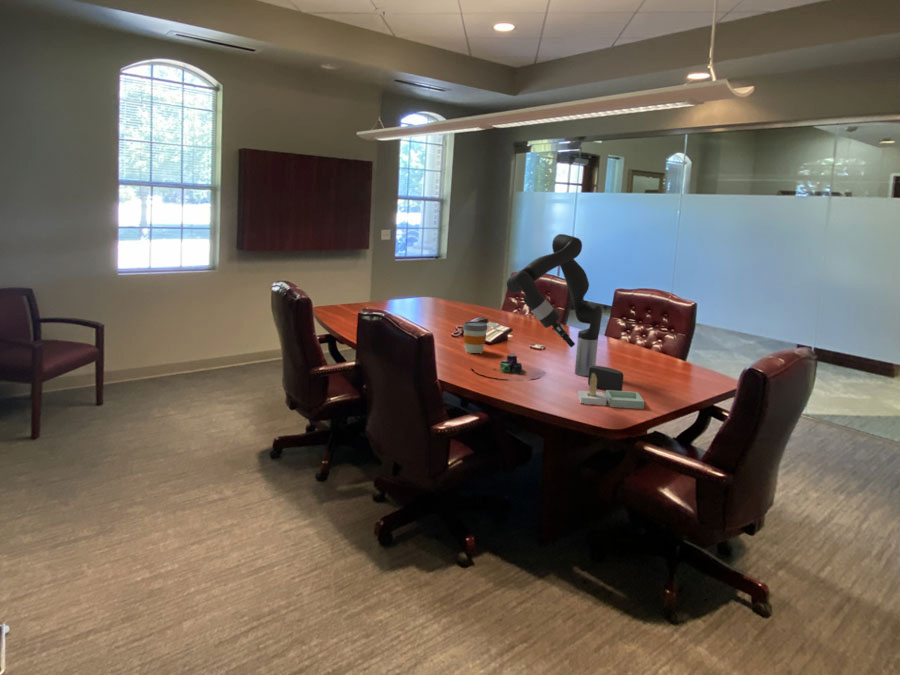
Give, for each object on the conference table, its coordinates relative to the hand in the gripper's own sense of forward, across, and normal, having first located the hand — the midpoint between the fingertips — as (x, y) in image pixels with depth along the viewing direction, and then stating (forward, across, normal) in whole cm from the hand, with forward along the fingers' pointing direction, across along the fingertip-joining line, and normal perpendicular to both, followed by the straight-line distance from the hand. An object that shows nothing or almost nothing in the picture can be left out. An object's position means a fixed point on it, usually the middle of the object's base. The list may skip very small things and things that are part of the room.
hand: (571, 343), depth 259 cm
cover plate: (+24, 0, +9) cm, 26 cm away
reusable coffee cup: (-9, +77, +41) cm, 88 cm away
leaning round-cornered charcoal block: (+30, +17, +2) cm, 35 cm away
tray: (+33, 0, -1) cm, 33 cm away
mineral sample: (+3, +42, +31) cm, 52 cm away
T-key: (+24, 0, +9) cm, 26 cm away
